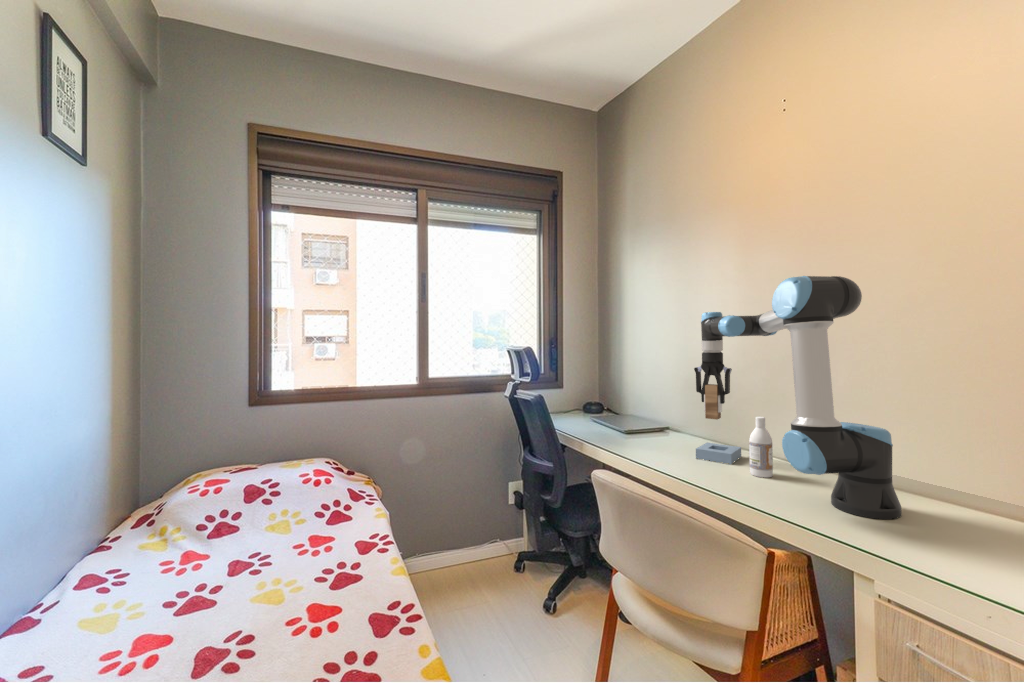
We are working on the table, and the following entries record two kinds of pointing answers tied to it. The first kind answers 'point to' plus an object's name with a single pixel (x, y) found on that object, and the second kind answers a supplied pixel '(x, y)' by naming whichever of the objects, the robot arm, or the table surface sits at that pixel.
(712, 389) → the peg
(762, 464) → the bath foam
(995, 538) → the table surface
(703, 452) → the socket block
